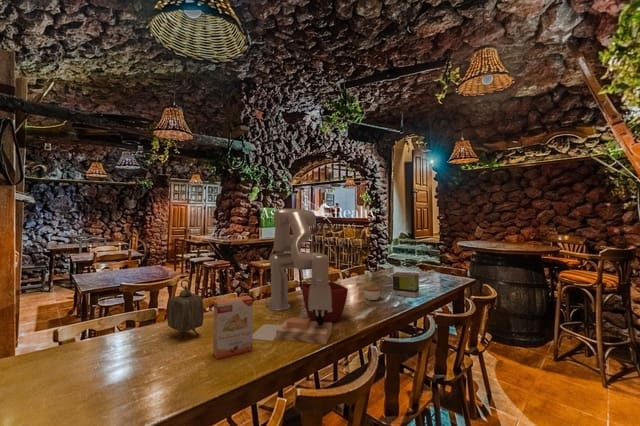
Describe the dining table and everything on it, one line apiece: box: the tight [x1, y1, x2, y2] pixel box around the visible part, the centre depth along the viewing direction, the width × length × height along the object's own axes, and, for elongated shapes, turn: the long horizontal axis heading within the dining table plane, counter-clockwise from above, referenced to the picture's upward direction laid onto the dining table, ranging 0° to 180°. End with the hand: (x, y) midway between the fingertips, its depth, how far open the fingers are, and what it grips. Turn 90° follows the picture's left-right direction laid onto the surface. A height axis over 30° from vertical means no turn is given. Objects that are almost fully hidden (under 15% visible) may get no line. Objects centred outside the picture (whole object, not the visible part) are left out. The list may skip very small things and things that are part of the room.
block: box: [287, 317, 311, 329], centre depth 134 cm, size 9×6×2 cm, turn 78°
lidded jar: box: [363, 284, 381, 301], centre depth 190 cm, size 11×11×9 cm
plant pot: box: [300, 281, 349, 323], centre depth 155 cm, size 19×19×17 cm
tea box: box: [392, 271, 420, 299], centre depth 201 cm, size 15×10×15 cm, turn 58°
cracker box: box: [212, 295, 254, 360], centre depth 117 cm, size 14×6×21 cm, turn 122°
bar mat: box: [253, 323, 282, 342], centre depth 137 cm, size 11×18×1 cm, turn 168°
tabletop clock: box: [166, 279, 205, 339], centre depth 133 cm, size 14×9×25 cm, turn 56°
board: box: [275, 318, 333, 345], centre depth 133 cm, size 22×14×4 cm, turn 78°
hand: (320, 324), depth 132 cm, fingers closed
